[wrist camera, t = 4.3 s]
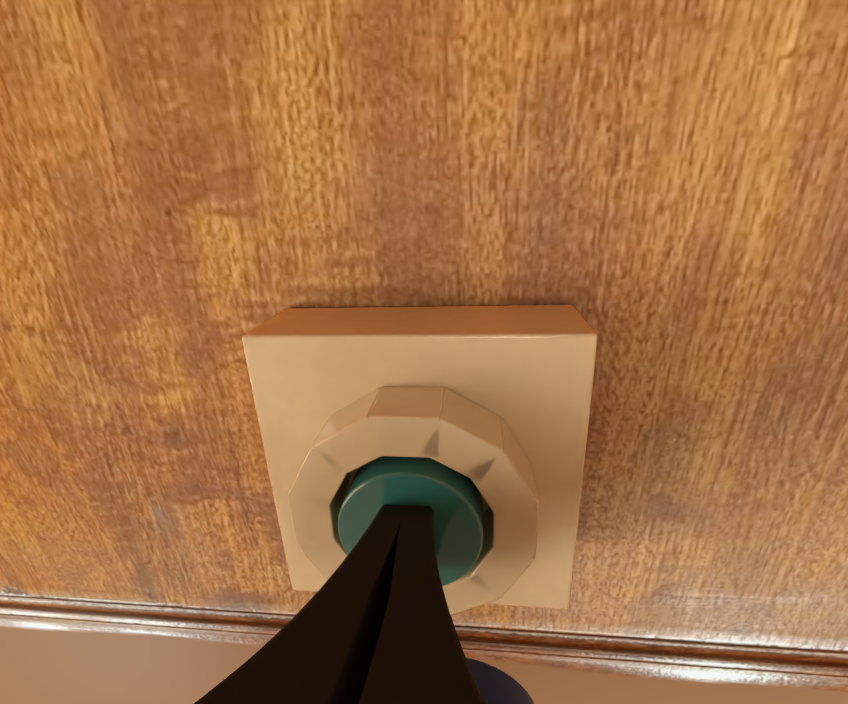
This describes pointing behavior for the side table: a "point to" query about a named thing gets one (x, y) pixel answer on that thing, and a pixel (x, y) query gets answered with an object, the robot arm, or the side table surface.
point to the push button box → (432, 429)
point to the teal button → (419, 487)
